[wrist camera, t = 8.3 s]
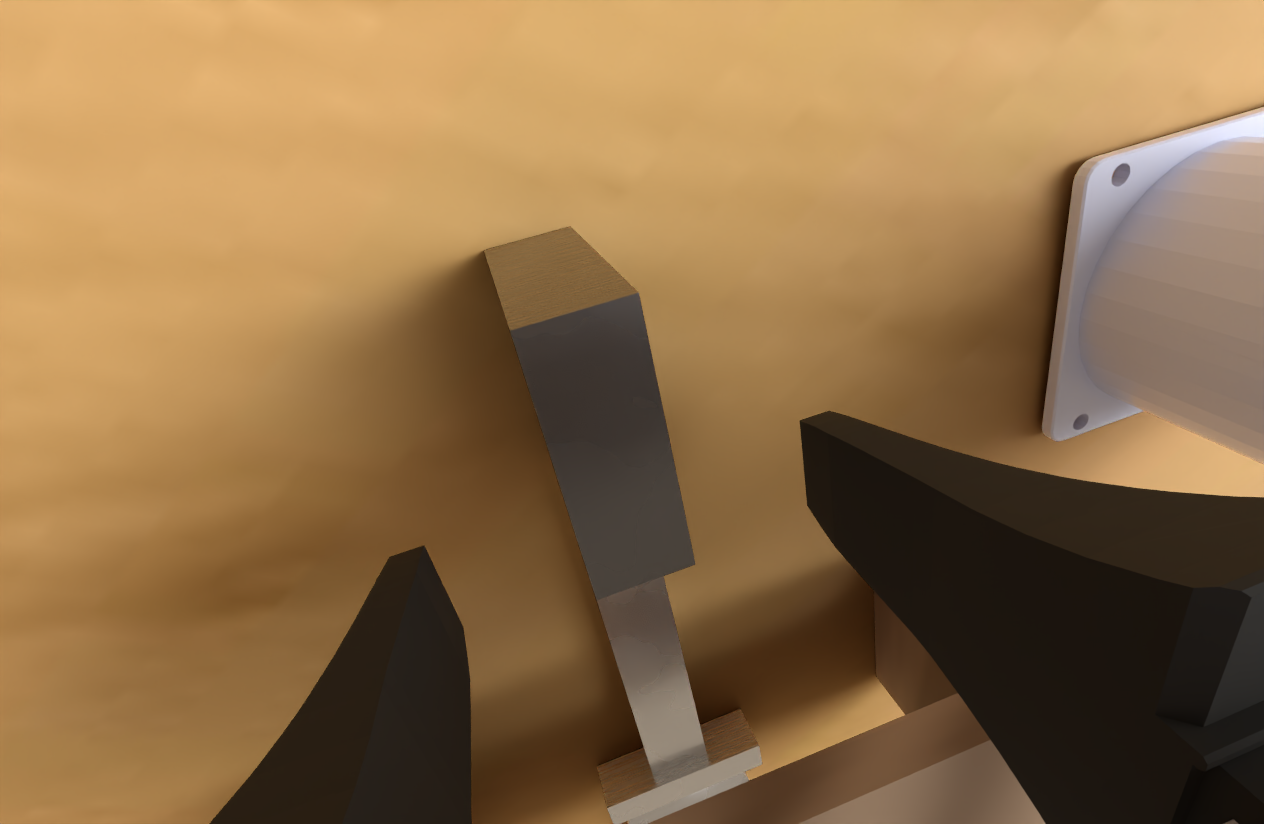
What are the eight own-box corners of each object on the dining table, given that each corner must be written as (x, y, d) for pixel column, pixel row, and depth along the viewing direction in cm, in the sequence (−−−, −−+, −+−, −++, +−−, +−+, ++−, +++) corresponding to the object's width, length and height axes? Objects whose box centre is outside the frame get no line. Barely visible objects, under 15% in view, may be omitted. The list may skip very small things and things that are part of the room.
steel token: (732, 722, 22) (744, 748, 21) (746, 795, 24) (757, 821, 23) (610, 770, 21) (617, 799, 21) (635, 841, 23) (642, 869, 23)
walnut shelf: (915, 531, 20) (1095, 693, 14) (913, 660, 23) (1062, 836, 17) (325, 753, 17) (277, 1050, 12) (408, 867, 20) (399, 1147, 15)
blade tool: (403, 272, 13) (388, 366, 8) (644, 205, 13) (747, 260, 9) (603, 783, 21) (648, 962, 17) (744, 727, 22) (821, 883, 17)
